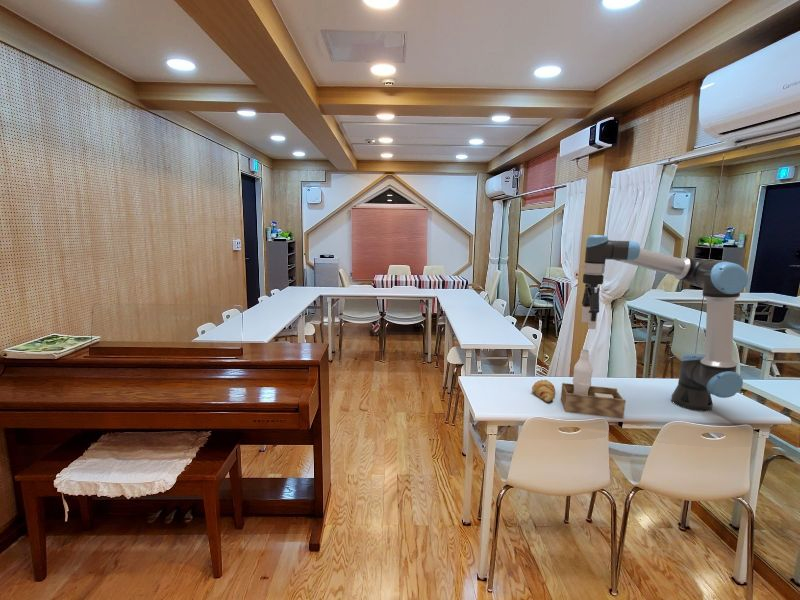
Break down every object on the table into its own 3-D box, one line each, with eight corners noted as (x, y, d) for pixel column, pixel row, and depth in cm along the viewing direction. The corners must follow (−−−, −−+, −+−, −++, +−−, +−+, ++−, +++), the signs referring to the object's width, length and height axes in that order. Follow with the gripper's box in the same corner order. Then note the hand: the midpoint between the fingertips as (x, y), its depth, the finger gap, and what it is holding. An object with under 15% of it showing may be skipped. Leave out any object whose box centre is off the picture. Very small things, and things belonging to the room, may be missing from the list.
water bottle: (589, 406, 176) (595, 349, 172) (587, 412, 170) (593, 354, 166) (571, 402, 180) (577, 347, 175) (568, 408, 174) (574, 351, 169)
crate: (614, 407, 178) (616, 388, 176) (623, 420, 165) (625, 400, 164) (560, 401, 183) (562, 382, 181) (564, 413, 170) (566, 394, 169)
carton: (610, 406, 177) (611, 394, 176) (616, 416, 167) (618, 403, 166) (593, 404, 178) (594, 392, 177) (598, 414, 169) (599, 401, 168)
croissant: (554, 411, 180) (565, 397, 179) (534, 400, 180) (544, 385, 179) (543, 392, 201) (552, 379, 199) (525, 382, 201) (534, 368, 199)
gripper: (577, 270, 178) (573, 318, 182) (590, 276, 154) (584, 331, 158) (596, 271, 177) (591, 319, 180) (611, 277, 153) (605, 333, 156)
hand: (588, 325), depth 169 cm, fingers open, 13 cm apart
